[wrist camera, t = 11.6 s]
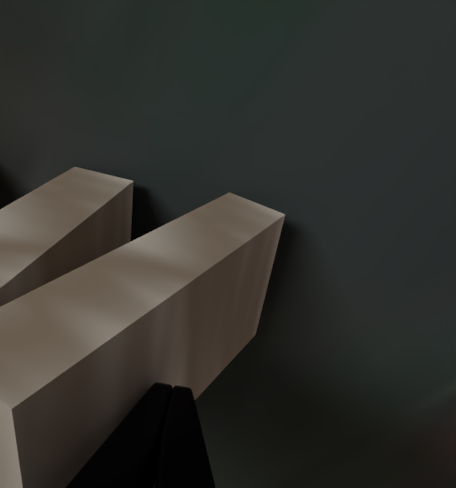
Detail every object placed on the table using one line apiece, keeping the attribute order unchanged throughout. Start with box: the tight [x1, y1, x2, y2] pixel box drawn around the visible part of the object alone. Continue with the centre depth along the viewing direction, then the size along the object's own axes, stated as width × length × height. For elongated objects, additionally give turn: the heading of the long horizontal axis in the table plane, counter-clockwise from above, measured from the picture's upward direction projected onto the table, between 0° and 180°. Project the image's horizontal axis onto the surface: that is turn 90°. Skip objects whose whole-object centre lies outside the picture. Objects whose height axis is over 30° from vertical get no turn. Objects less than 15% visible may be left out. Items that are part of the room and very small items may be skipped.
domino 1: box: [0, 167, 134, 307], centre depth 11 cm, size 2×5×9 cm, turn 170°
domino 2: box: [0, 192, 285, 488], centre depth 11 cm, size 2×5×9 cm, turn 170°
